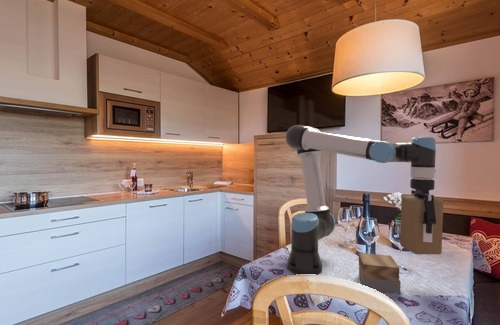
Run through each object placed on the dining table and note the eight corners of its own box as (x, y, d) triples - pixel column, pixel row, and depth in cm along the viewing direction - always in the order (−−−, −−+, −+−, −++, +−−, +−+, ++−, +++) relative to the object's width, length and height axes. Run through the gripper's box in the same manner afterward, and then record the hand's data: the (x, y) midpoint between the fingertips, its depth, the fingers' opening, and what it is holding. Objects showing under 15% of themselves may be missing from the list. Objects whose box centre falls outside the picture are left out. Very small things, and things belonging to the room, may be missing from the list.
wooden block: (423, 245, 104) (425, 195, 103) (442, 255, 94) (444, 199, 93) (398, 245, 104) (400, 195, 103) (415, 255, 94) (417, 199, 93)
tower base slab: (364, 291, 97) (364, 277, 97) (358, 276, 109) (359, 264, 109) (400, 295, 95) (400, 281, 94) (390, 279, 106) (390, 267, 106)
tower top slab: (363, 277, 97) (363, 264, 97) (358, 264, 109) (358, 252, 109) (399, 281, 94) (399, 267, 94) (390, 267, 106) (390, 255, 106)
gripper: (450, 182, 86) (447, 248, 87) (420, 176, 109) (419, 228, 109) (424, 181, 88) (422, 246, 88) (400, 175, 110) (399, 227, 111)
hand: (420, 236), depth 99 cm, fingers closed on wooden block, 11 cm apart
